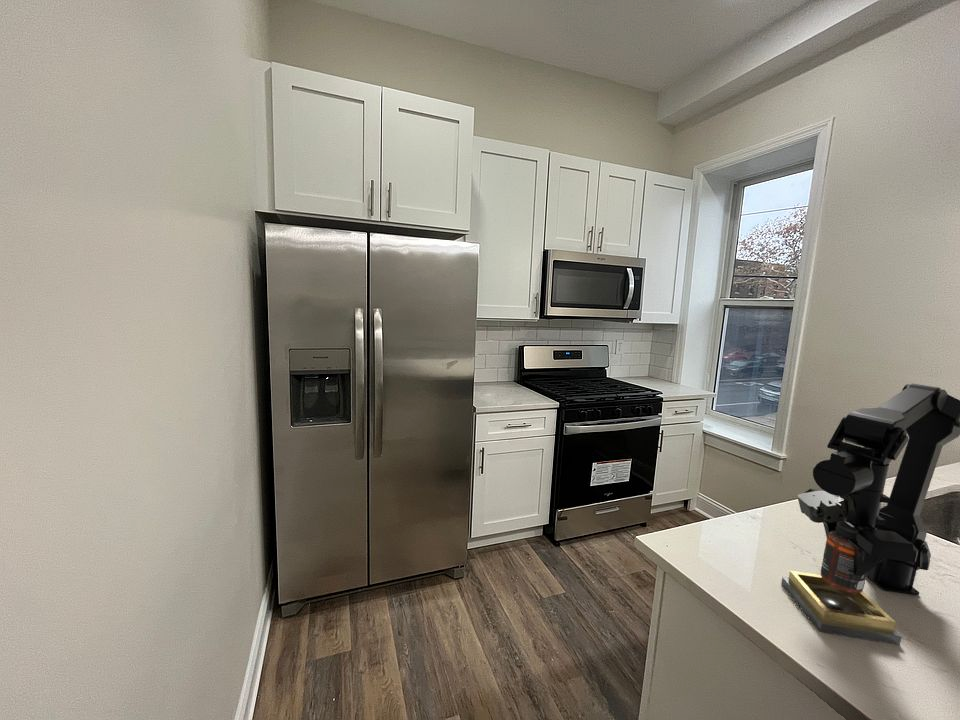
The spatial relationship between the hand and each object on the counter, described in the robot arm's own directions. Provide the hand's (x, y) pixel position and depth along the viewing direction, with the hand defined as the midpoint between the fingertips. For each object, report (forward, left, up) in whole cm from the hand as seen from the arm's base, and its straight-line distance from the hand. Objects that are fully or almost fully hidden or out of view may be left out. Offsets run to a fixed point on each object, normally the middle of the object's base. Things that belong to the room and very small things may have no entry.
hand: (845, 563), depth 72 cm
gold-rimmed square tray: (0, 0, -10) cm, 10 cm away
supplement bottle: (0, 0, -4) cm, 4 cm away
